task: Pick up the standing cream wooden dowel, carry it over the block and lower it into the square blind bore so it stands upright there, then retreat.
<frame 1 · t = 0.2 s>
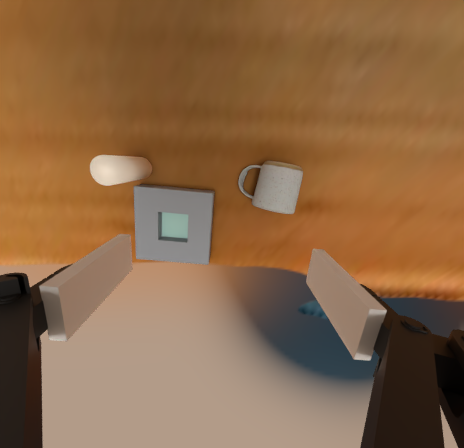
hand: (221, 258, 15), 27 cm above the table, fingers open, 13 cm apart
dowel pin: (141, 167, 40), on the table
bore block: (177, 222, 43), on the table
ceramic mug: (266, 185, 41), on the table
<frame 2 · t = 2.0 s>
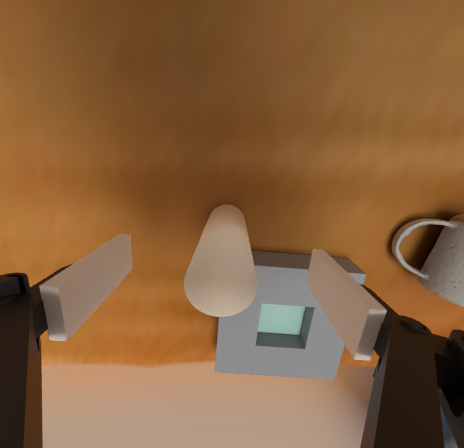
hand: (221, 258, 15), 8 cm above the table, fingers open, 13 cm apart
dowel pin: (226, 222, 23), on the table
bore block: (277, 305, 26), on the table
ceramic mug: (432, 246, 24), on the table
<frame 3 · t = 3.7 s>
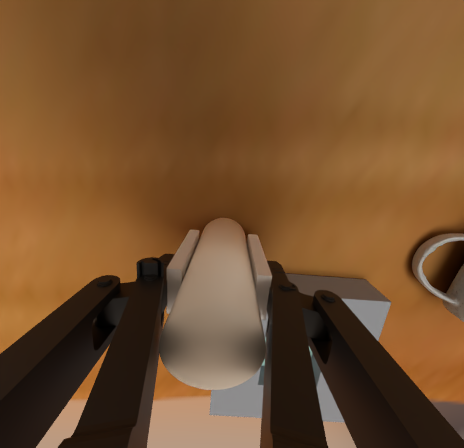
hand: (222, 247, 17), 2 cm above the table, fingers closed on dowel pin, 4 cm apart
dowel pin: (223, 238, 20), on the table, touching gripper
bore block: (282, 333, 22), on the table
ceramic mug: (459, 264, 21), on the table
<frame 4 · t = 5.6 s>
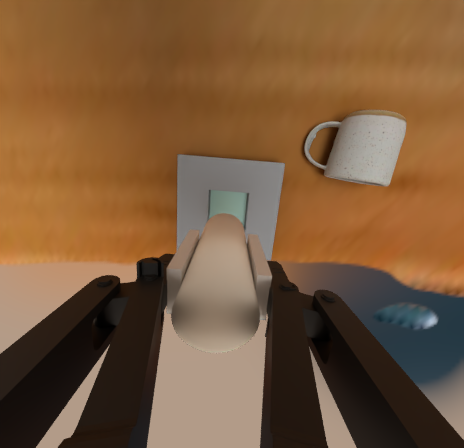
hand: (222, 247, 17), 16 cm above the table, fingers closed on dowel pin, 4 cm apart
dowel pin: (224, 232, 21), point 13 cm above the table, touching gripper
bore block: (228, 206, 33), on the table
ceramic mug: (338, 152, 31), on the table
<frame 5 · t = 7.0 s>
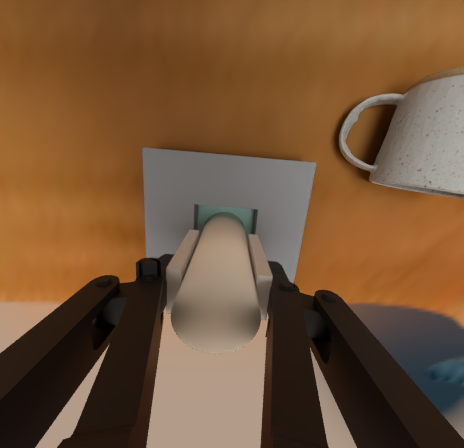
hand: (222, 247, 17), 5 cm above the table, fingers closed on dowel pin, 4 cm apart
dowel pin: (224, 231, 21), point 2 cm above the table, touching bore block, gripper
bore block: (225, 225, 22), on the table
ceramic mug: (388, 145, 21), on the table
when the fingers open (5 cm above the table, at t = 7.6 s): dowel pin stays where it is, resting on bore block.
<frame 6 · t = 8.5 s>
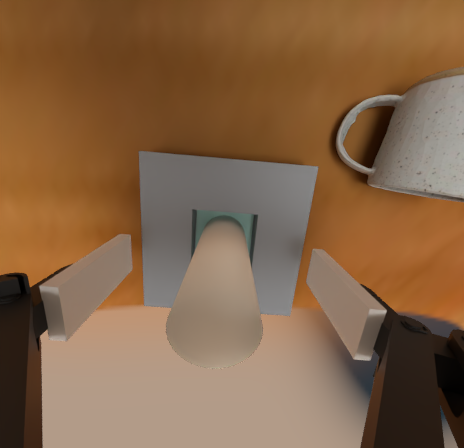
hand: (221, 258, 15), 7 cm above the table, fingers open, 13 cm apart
dowel pin: (223, 235, 20), point 2 cm above the table, touching bore block
bore block: (224, 230, 22), on the table
ceramic mug: (386, 147, 20), on the table
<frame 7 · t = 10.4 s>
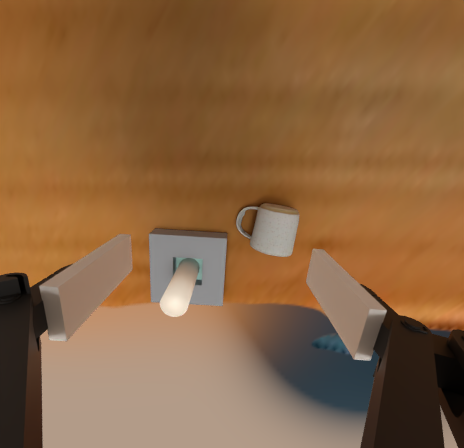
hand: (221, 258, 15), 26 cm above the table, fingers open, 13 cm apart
dowel pin: (189, 267, 42), point 2 cm above the table, touching bore block
bore block: (190, 263, 44), on the table
ceramic mug: (263, 223, 42), on the table
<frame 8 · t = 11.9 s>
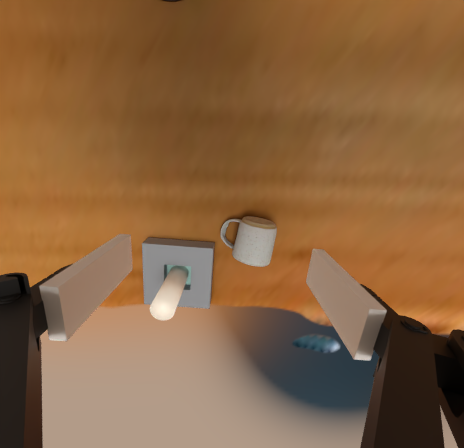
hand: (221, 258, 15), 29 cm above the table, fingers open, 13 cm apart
dowel pin: (179, 272, 46), point 2 cm above the table, touching bore block
bore block: (181, 269, 48), on the table
ceramic mug: (246, 233, 46), on the table
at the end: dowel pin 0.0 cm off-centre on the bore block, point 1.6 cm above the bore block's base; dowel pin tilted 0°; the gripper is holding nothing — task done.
